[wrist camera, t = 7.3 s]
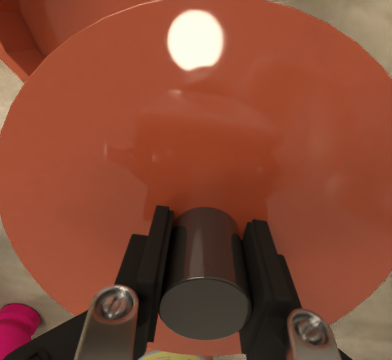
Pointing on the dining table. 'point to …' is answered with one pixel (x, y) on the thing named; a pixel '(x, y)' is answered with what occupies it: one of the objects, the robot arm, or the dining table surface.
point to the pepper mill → (16, 327)
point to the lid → (203, 161)
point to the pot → (46, 27)
